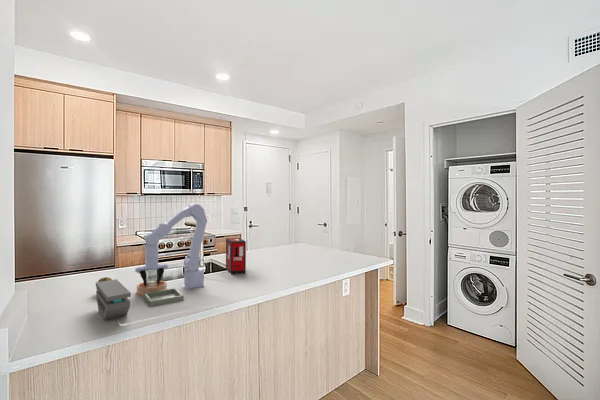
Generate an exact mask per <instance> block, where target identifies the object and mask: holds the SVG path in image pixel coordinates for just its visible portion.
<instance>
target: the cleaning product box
mask: <svg viewBox="0 0 600 400" xmlns="http://www.w3.org/2000/svg"><path fill="white" fill-rule="evenodd" d="M246 243H247V241H245V240H244V239H242V238H240V237H233V238H231V237H230V238H225V269H226V270H227V272H228V273H229V272H230V273H231V274H230V273H229V274H230V275H232V274H233V275H241V273H243V274H246V271H247V270H246V269H247V268H246V267H247V266H246V263H247V262H246V259H247V257H246V255H247V253H246V251H247V249H246V248H247V245H246Z"/></svg>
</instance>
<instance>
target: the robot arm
mask: <svg viewBox="0 0 600 400" xmlns="http://www.w3.org/2000/svg"><path fill="white" fill-rule="evenodd" d="M189 217H192V218H193V219H194V220H195V222H196V224H195V228H194V232H193V234H192V235H193V236H192V240H191V243H190V248H189V251H188V252H187V256H186V257H184V259H183V265H184V266H185V268H184V269H183V270H184V271H183V273H184V275H183V279H184V281H183V284H181V286H182V287H183V288H185V290H188V289H193V288H199V287H200V288H203V287H205V285H204V284H205V283H204V281H205V279H204V278H205V277H204V270H203V268H200V250H201V248H202V247H201V246H202V243H203V239H204V235H205V231H206V226H207V223H208V219H207V215H206V212H205V209H204V207H203V206H201V204H197V203H190V204H189V205H187V206H185V207H183V208H182V209H181V210H180V211H178V213H177V214H175V215H174V216H173V217H172V218H171V219H169V221H167V222H160V223H159V224H158V226H157V227H155V229H154V230H153V229H152V230H151V231H150V232H151V233H148V234H146V235H145V238H144V241H145V242H144V243H145V249H144V250H145V258H144V259H145V262H144V263H145V265H144V266H139V267H135V268H134V269H135V271H134V272H135V273H139V275H140V276H141V278H142V283H143V282H144V286H146V282H147V274H148V273H147V272H148V271H156V275H157V276H156V281H157V283H158V284H160V281H161V280H162V276H163V274H164V273H165V269H167V270H168V266H169V265H168V264H167V263H164V264H161V263H160V264H159V248H158V247H159V242H160V240H162V239H163V238H164V237H166V236H167V235H168V234H170V233H171V231H172V228H173V227H174V226H176V224H178V223H179V222H181V221H182V220H183V219H184V218H189Z"/></svg>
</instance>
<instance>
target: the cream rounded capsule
mask: <svg viewBox="0 0 600 400" xmlns="http://www.w3.org/2000/svg"><path fill="white" fill-rule="evenodd" d="M146 282H147V281H146ZM151 287H157V280H148V282H147V288H151Z"/></svg>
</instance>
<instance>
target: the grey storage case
mask: <svg viewBox="0 0 600 400" xmlns="http://www.w3.org/2000/svg"><path fill="white" fill-rule="evenodd" d="M95 287H97V288H98V290H97V288H96V294H95V295H96V302H97V309H98V313H99V315H100V316H101V318H102V320H103V321H108V320H112V319H116V318H118V317H120V316H121V317H122V316H125V315H128V313H129V310H130V308H131V300H130V299H129V298H131V296H132V293H131V292H130V290H128V289H127V287H125V286H124V285H123V284H122V283H121V282H120V281H119V280H118V279H112V280H108V281H102V282H98V281H96V282H95Z"/></svg>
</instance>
